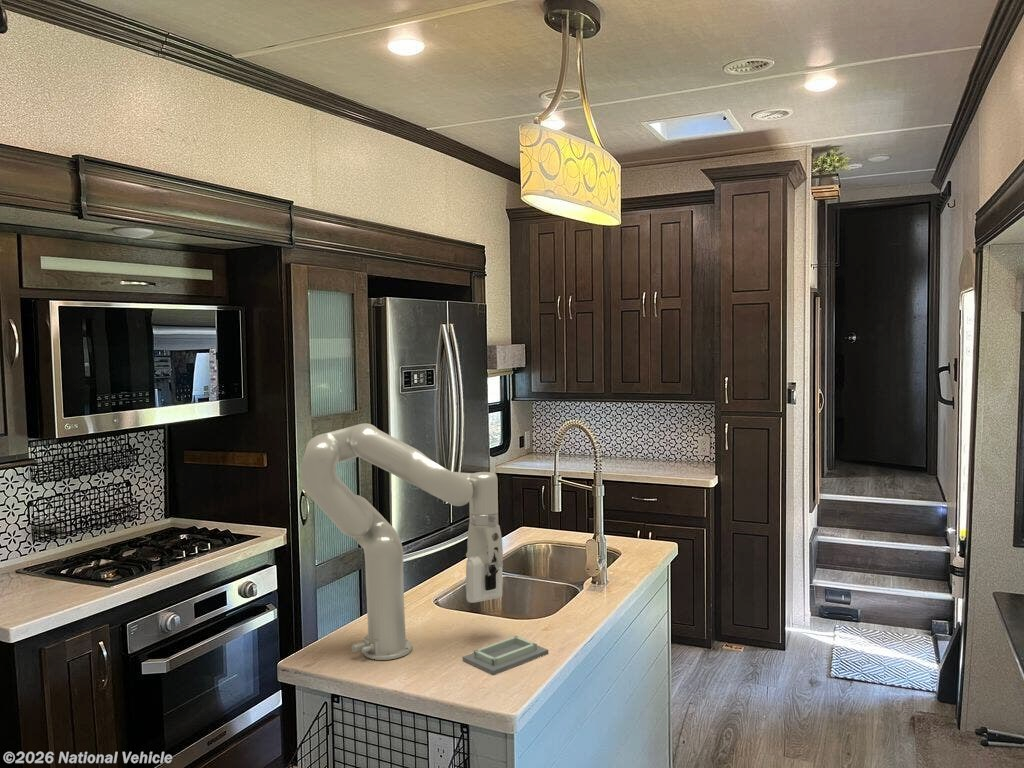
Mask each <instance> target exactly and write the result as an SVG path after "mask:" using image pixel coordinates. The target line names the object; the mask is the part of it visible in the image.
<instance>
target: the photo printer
mask: <svg viewBox="0 0 1024 768" xmlns="http://www.w3.org/2000/svg"><path fill="white" fill-rule="evenodd" d="M465 563H466V565H465V570H466V571H465V573H466V574H465V578H466V579H465V597H466V601H467V602H468V603H471V604H473V603H478V602H479V603H480V602H484V601H489V600H495V599H499V598H502V597H503V566H502V567H501V568H500V569H499V570H498V573H497V574H496V588H495V589H492V590H488V591H487V590H486V589H485V575H487V572H486V566H485V564H484V563H482V560H481V558H480V557H479V556H476V555H474V556H472V557H470V558H469V559H468V558H467V560H466V562H465ZM491 568H492V565H490V569H491Z"/></svg>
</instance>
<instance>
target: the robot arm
mask: <svg viewBox="0 0 1024 768" xmlns="http://www.w3.org/2000/svg"><path fill="white" fill-rule="evenodd" d="M355 458H360V459H362V460H363V461H366V462H367V463H369V464H372V465H373V466H376V467H378V468H380V469H381V470H384V471H386V472H388V473H389V474H390V475H391V474H392V475H394V476H395V477H397V478H399V479H401V480H403V481H404V482H405V483H408V484H410V485H413V486H415V487H417V488H418V489H420V490H422V491H423V492H426V493H428V494H429V495H431V496H434V497H436V498H438V499H439V500H441V501H444V502H445V503H447V504H449V505H452V506H455V507H462V506H465V505H467V504H468V503H469V524H468V531H467V532H468V533H467V542H466V544H467V546H466V547H467V551H466V553H465V557H466V559H467V560H468V559H469V558H470V557H472V556H474V555H476V556H479V557H480V558H481V560H482V563H484V564H485V566H486V572H487V575H485V589H486V590H487V591H488V590H492V589H495V588H496V574H497V573H498V570H499V569H500V568H501V567H502V568H503V567H504V563H503V560H504V559H503V558H504V551H503V550H504V549H503V538H502V537H503V535H502V531H501V526H500V524H499V509H498V508H499V506H498V505H499V504H498V503H499V501H498V497H499V495H498V489H499V487H498V481H499V480H498V476H497V474H495V473H494V472H489V471H479V472H474V473H473V472H471V473H470V472H459V471H451V470H449V469H447V468H445V467H444V466H442V465H440V464H439V463H438V462H435V461H433V460H432V459H430V458H429V457H428V456H427V455H425V454H424V453H423V452H421V451H420V450H419V449H417V448H416V447H413V446H411V445H409V444H407V443H405V442H403V441H401V440H399V439H398V438H395V437H394V436H391V435H390V434H388V433H386V432H384V431H382V430H380V429H379V428H377V427H376V426H375V425H373V424H371V423H360V424H355V425H352V426H349V427H345V428H341V429H337V430H333V431H329V432H326V433H322V434H318V435H316V436H314V437H312V438H311V439H310V440H309V441H308V443H307V444H306V447H305V452H304V455H303V458H302V460H301V466H300V481H301V484H302V486H303V488H304V491H305V492H306V494H307V496H309V498H311V500H312V501H313V502H314V503H315V504H316V505H317V506H318V508H320V510H321V511H322V512H323V513H324V514H325V515H326V516H327V518H328V519H330V520H331V522H332V523H333V524H334V525H335V526H336V527H337V529H338V530H339V531H340V532H341V533H342V534H344V535H345V536H346V537H350V538H352V539H353V540H354V541H355V542H356V543H357V544H358V545H359V546H360V547H361V548H362V549H363V552H364V553H363V554H364V562H365V563H364V564H365V565H364V566H365V569H364V570H365V591H366V592H365V593H366V610H367V611H366V613H367V614H366V615H367V635H365V636H364V640H362V641H361V642H357V643H354V644H352V645H351V651H352V653H358V652H360V651H361V653H363V656H364V657H365V658H368V659H371V660H374V659H375V660H374V661H376V660H377V661H386V660H387V661H388V660H394V659H399V658H402V657H404V656H406V655H408V654H410V653H411V652H412V650H413V643H412V641H410V640H409V639H407V637H406V636H407V635H406V616H405V614H406V613H405V592H404V591H405V590H404V547H403V544H402V540H401V539H400V536H399V534H398V533H397V531H396V529H395V528H394V527H393V525H391V524H390V523H389V521H388V520H387V519H386V518H384V516H383V515H382V514H381V513H380V512H379V511H378V510H377V509H376V508H375V507H374V506H373V504H371V503H370V502H369V501H368V500H367V499H366V498H365V497H363V496H362V495H358V494H355V493H354V492H353V491H352V490H351V488H349V487H348V486H347V485H346V483H344V482H343V480H341V479H340V477H339V476H338V474H337V471H336V468H337V464H338V463H341V462H345V461H348V460H352V459H355ZM490 565H492V568H491V569H490Z"/></svg>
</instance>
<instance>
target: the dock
mask: <svg viewBox="0 0 1024 768" xmlns="http://www.w3.org/2000/svg"><path fill="white" fill-rule="evenodd" d="M548 654H549V649H547V648H545V647H542V646H540V645H538V643H535V642H532V641H530V640H528V639H526V638H522V637H520V636H517V635H515V636H511V637H509V638H506V639H503V640H501V641H498V642H494V643H492V644H490V645H489V644H488V645H486V646H483V647H481V648H478V649H475V650H473V652H472V653H469V654H467V655H464V656H462V662H465V663H467V664H469V665H471V666H473V667H475V668H478V669H480V670H482V671H484V672H486V673H488V674H489V675H492V676H495V675H497V674H500V673H503V672H505V671H508V670H510V669H513V668H515V667H518V666H520V665H523V664H526V663H528V662H532V661H533V660H535V659H539V658H541V657H543V655H544V656H546V655H548ZM540 656H541V657H540ZM538 657H539V658H538Z"/></svg>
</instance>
